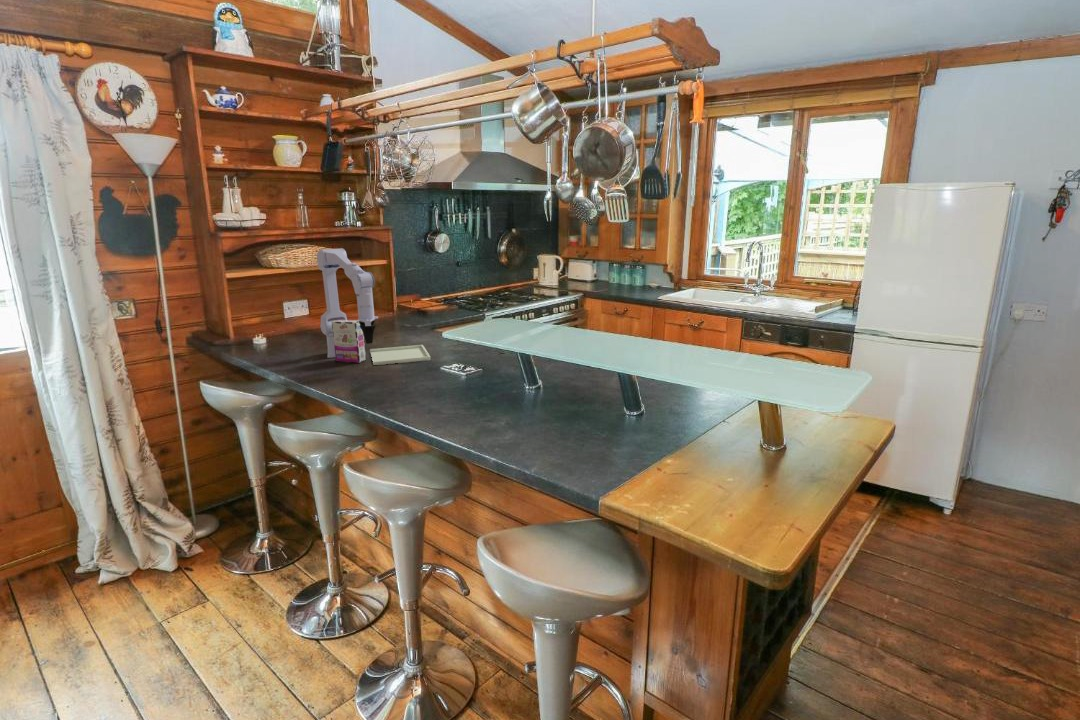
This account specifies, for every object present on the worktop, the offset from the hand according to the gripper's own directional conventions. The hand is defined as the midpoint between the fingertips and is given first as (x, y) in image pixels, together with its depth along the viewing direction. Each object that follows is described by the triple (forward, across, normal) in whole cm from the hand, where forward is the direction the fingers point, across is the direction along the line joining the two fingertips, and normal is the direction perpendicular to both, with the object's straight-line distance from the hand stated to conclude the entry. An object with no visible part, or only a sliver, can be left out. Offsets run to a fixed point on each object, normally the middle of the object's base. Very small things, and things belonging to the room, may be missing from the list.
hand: (368, 341), depth 222 cm
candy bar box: (+11, +14, +7) cm, 19 cm away
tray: (+10, +14, -12) cm, 21 cm away
